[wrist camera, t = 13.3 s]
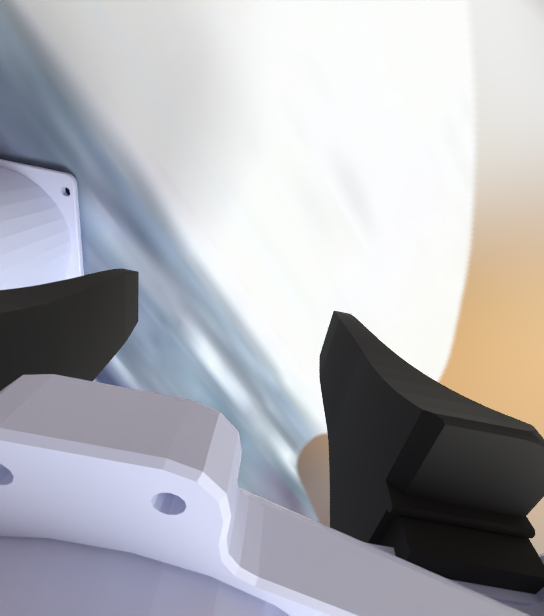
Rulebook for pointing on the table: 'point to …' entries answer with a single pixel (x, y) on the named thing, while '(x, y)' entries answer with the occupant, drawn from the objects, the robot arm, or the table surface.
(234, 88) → the table surface
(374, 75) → the table surface
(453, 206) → the table surface
